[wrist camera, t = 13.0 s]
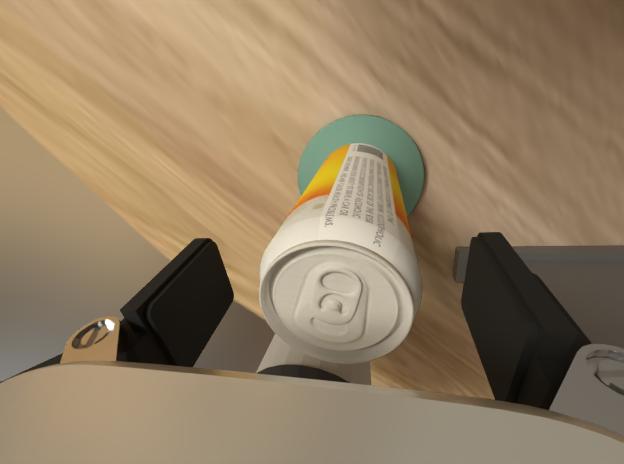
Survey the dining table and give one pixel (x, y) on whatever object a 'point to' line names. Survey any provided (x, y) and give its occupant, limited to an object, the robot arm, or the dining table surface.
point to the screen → (577, 284)
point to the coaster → (371, 133)
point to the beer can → (344, 263)
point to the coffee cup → (310, 366)
